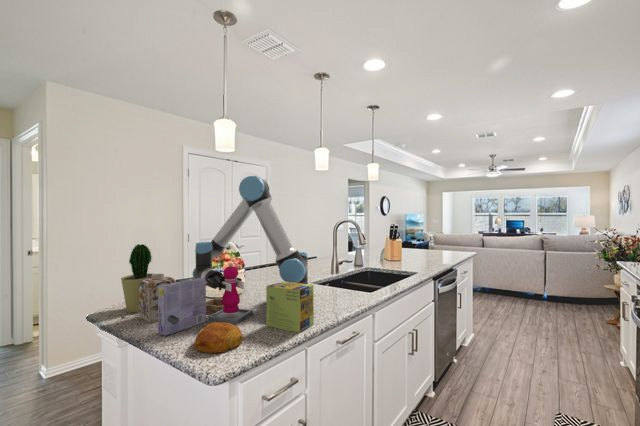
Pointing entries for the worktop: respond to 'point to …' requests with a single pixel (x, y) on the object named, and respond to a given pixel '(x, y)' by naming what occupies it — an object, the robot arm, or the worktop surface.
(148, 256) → the potted cactus
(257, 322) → the worktop surface
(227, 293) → the pepper mill
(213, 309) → the tray
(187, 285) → the cake pan box
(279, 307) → the protein box
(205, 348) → the bread pastry
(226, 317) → the tray
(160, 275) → the decorative jar
